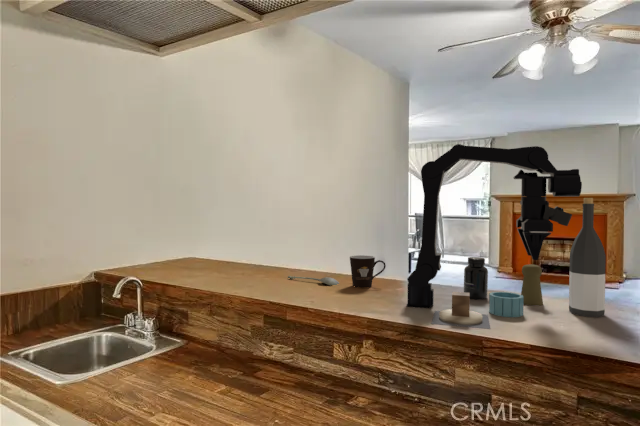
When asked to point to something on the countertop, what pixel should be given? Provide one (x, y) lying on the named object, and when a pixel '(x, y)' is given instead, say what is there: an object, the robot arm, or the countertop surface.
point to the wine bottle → (587, 269)
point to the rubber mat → (483, 324)
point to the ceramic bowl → (506, 304)
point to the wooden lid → (460, 311)
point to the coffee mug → (363, 270)
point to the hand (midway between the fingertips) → (532, 257)
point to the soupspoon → (325, 280)
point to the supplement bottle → (476, 278)
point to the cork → (532, 285)
